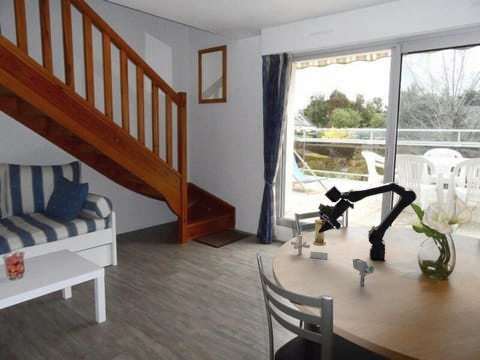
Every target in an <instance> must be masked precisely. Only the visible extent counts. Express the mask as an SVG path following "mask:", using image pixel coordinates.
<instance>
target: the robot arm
mask: <svg viewBox="0 0 480 360" xmlns="http://www.w3.org/2000/svg"><path fill="white" fill-rule="evenodd" d="M389 192H393V193H394V194H396V195H398V200H397V202H396V203H395V205H394V206H393V207H392V208H391V210H390V211H389V212H388V213H387V214H386V216H385V217H384V218H383V219H382V221H381V222H380V223H379V224H378V225H377V226H375V225H372V226H371V228H370V230H368V231H367V232H368V234H367V237H368V242H369V243H370V245H371V246H370V248H369V259H370V260H371V261H378V262H386V259H385V257H386V242H385V240H384V239H383V238H384V237H385V234H386V232H387V230H388V229H389V228H390V227H391V226H392V224H393V223H394V222H395V221H396V219H397V218H398V217H399V216H400V214H402V212H403V211H404V209H406V208H408V207H409V206H411V205H412V204H413V203H414V202H416V200H417V196H418V195H417V193H416V192H415V191H414V190H413V189H412V188H407V187H406V188H405V187H404V186H401V185H399V184H398V183H396V182H394V181H390V182H387V183H384V184H379V185H374V186H371V187H366V188H352V189H350V190H348V191H343V192H341V191H340V190H339V189H338V188H337V186H335V185H333V186H332V187H331V188H329V189H328V190H327V191H326V192H325V193H324V196H325V197H326V199H328V200H329V201H330V202H331V203H336V204H335V205H329V204H326V205H325V204H323V203H319V206H318V208H317V210H319V211H318V212H317V214H318V217H319V219H321V220H325V223H324V224H323V226H322V227H321V228H320V230H319V231H318V232H319V233H322V232H324V233H325V232H326V231H327V232H328V231H331V230H335V229H336V230H339V229H340V228H341V227H342V225H341V223H340V222H339V221H338V219H340V217H342V218H343V216H344V213H345V212H346V211H347V210H348V209H349V208H350V209H351V210H354V209H355V203H358V202H359V201H362V200H364V199H365V198H369V197H372V196H376V195H381V194H385V193H389Z"/></svg>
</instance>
